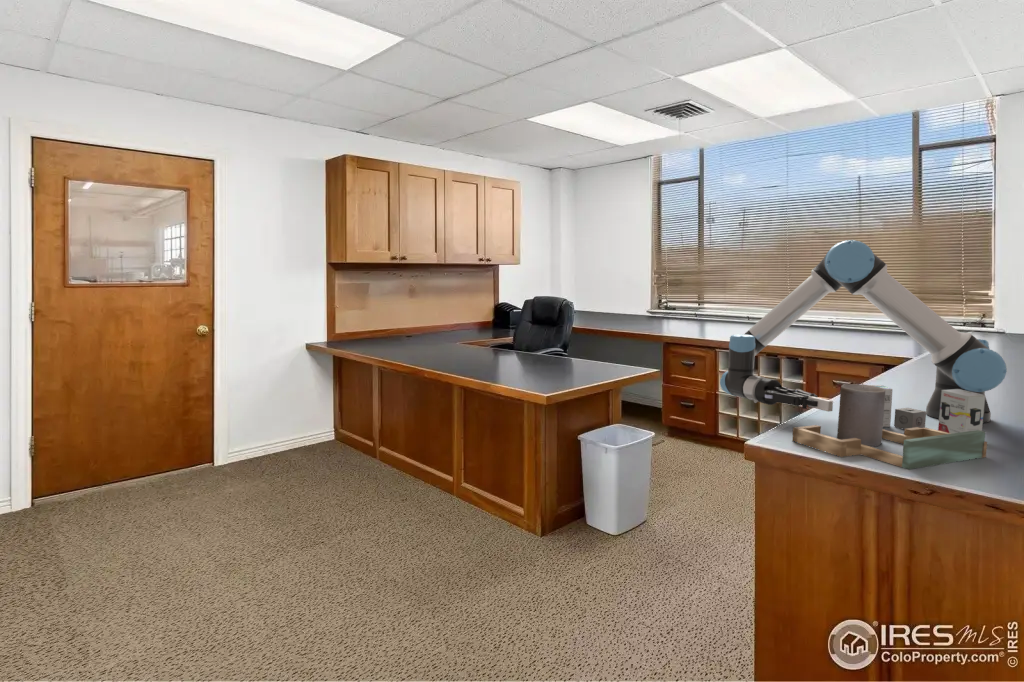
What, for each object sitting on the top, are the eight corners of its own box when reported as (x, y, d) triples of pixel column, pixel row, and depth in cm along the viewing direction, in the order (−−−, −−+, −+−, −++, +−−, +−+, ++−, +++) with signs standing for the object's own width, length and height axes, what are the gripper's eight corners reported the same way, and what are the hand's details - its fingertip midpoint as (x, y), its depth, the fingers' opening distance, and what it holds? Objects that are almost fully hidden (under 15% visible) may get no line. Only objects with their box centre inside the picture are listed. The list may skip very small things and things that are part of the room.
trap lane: (792, 441, 148) (793, 417, 148) (881, 430, 159) (883, 408, 159) (888, 472, 125) (890, 444, 124) (985, 457, 136) (988, 431, 135)
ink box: (936, 433, 157) (940, 388, 156) (953, 432, 157) (957, 388, 156) (963, 441, 148) (967, 395, 147) (982, 441, 149) (986, 394, 147)
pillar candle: (829, 436, 153) (833, 378, 152) (868, 436, 153) (872, 378, 151) (849, 447, 144) (853, 386, 142) (890, 447, 143) (895, 386, 142)
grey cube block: (894, 427, 163) (895, 409, 163) (906, 425, 165) (908, 407, 165) (911, 431, 159) (913, 412, 158) (924, 429, 160) (926, 411, 160)
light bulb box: (878, 421, 169) (881, 384, 168) (891, 427, 163) (894, 388, 161) (839, 420, 170) (841, 383, 169) (850, 426, 164) (852, 387, 162)
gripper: (779, 401, 180) (847, 418, 158) (745, 404, 176) (810, 422, 154) (780, 376, 180) (849, 390, 158) (746, 379, 175) (812, 393, 153)
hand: (830, 406), depth 156 cm, fingers closed
